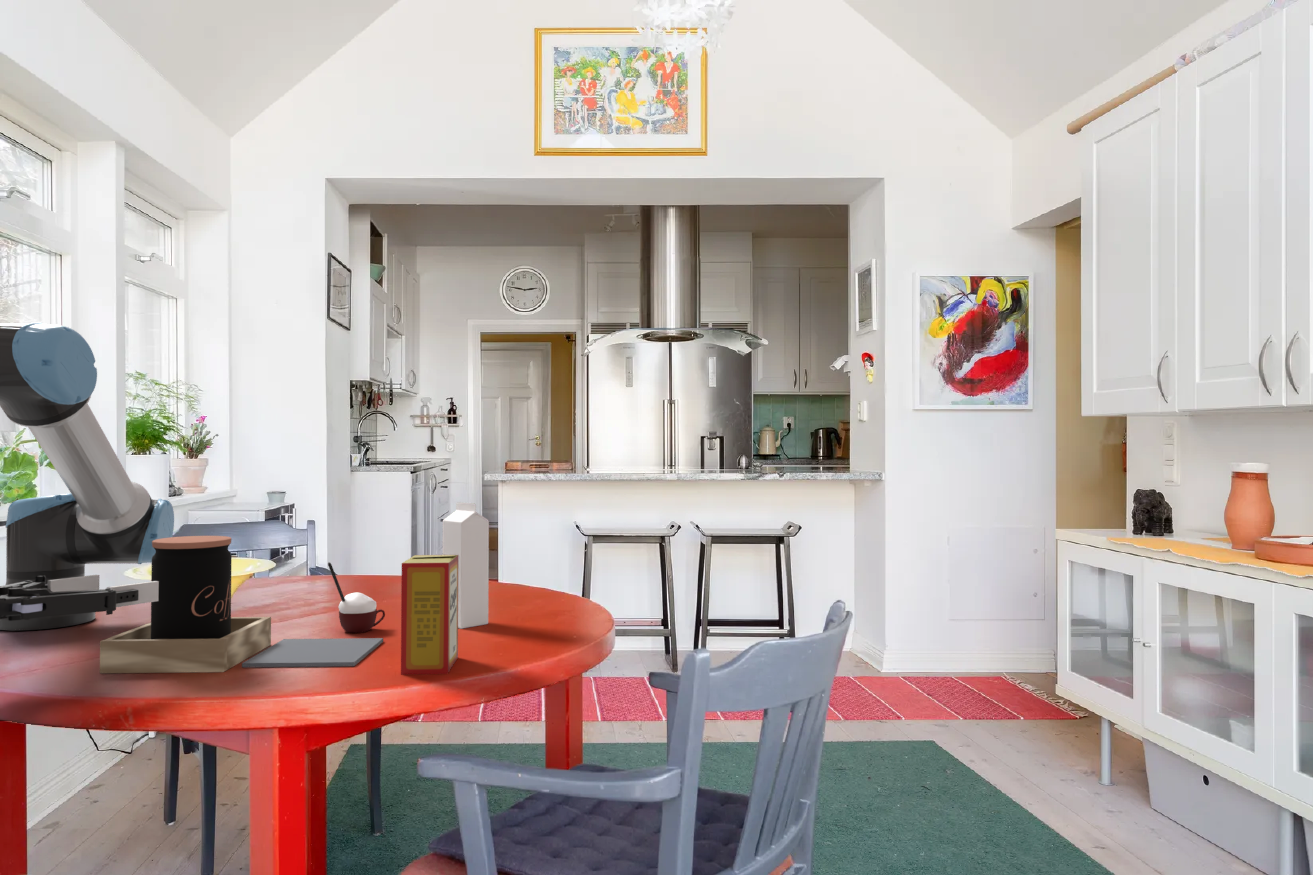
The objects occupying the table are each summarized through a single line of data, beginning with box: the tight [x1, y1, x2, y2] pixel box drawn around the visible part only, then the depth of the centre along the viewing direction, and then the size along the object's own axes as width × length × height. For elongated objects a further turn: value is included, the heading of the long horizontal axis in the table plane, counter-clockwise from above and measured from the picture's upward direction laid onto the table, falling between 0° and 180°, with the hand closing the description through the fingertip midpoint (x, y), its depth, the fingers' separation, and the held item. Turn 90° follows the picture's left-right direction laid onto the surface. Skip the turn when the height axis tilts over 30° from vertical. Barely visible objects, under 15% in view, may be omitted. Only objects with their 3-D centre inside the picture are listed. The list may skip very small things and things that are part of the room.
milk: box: [442, 501, 490, 629], centre depth 156 cm, size 6×6×22 cm
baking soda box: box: [400, 554, 459, 676], centre depth 126 cm, size 10×6×16 cm
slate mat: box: [241, 637, 384, 668], centre depth 133 cm, size 16×16×1 cm
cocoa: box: [327, 561, 386, 634], centre depth 150 cm, size 10×6×12 cm, turn 94°
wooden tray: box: [99, 616, 272, 674], centre depth 130 cm, size 17×17×4 cm
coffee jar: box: [150, 535, 233, 639], centre depth 130 cm, size 11×11×18 cm
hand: (126, 587), depth 121 cm, fingers open, 13 cm apart
